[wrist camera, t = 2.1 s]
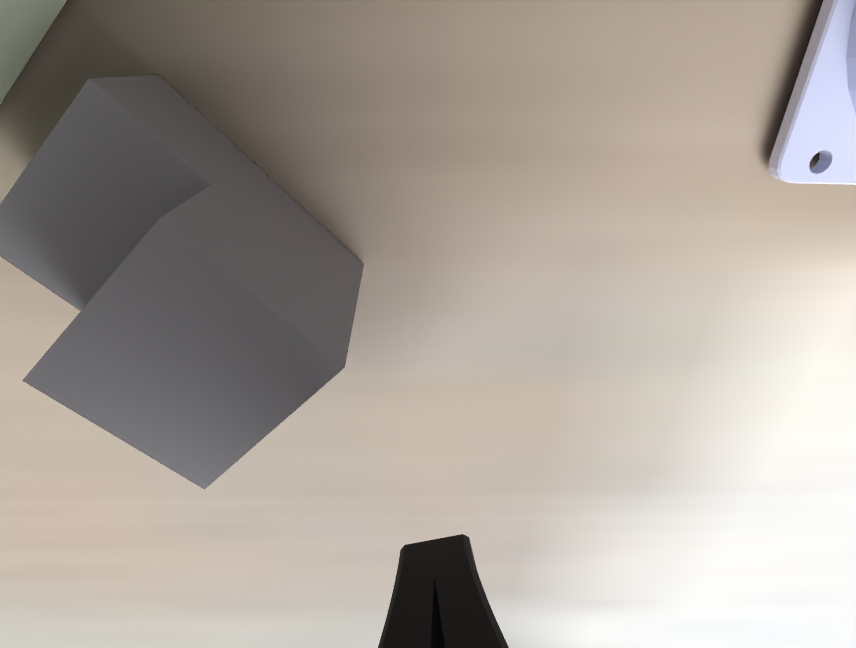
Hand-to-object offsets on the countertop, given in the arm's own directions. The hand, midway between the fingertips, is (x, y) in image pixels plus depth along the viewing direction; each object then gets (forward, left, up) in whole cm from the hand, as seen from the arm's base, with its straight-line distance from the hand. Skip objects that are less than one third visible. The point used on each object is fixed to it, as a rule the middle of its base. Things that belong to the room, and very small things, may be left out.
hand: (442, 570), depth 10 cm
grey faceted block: (+5, -6, -6) cm, 9 cm away
